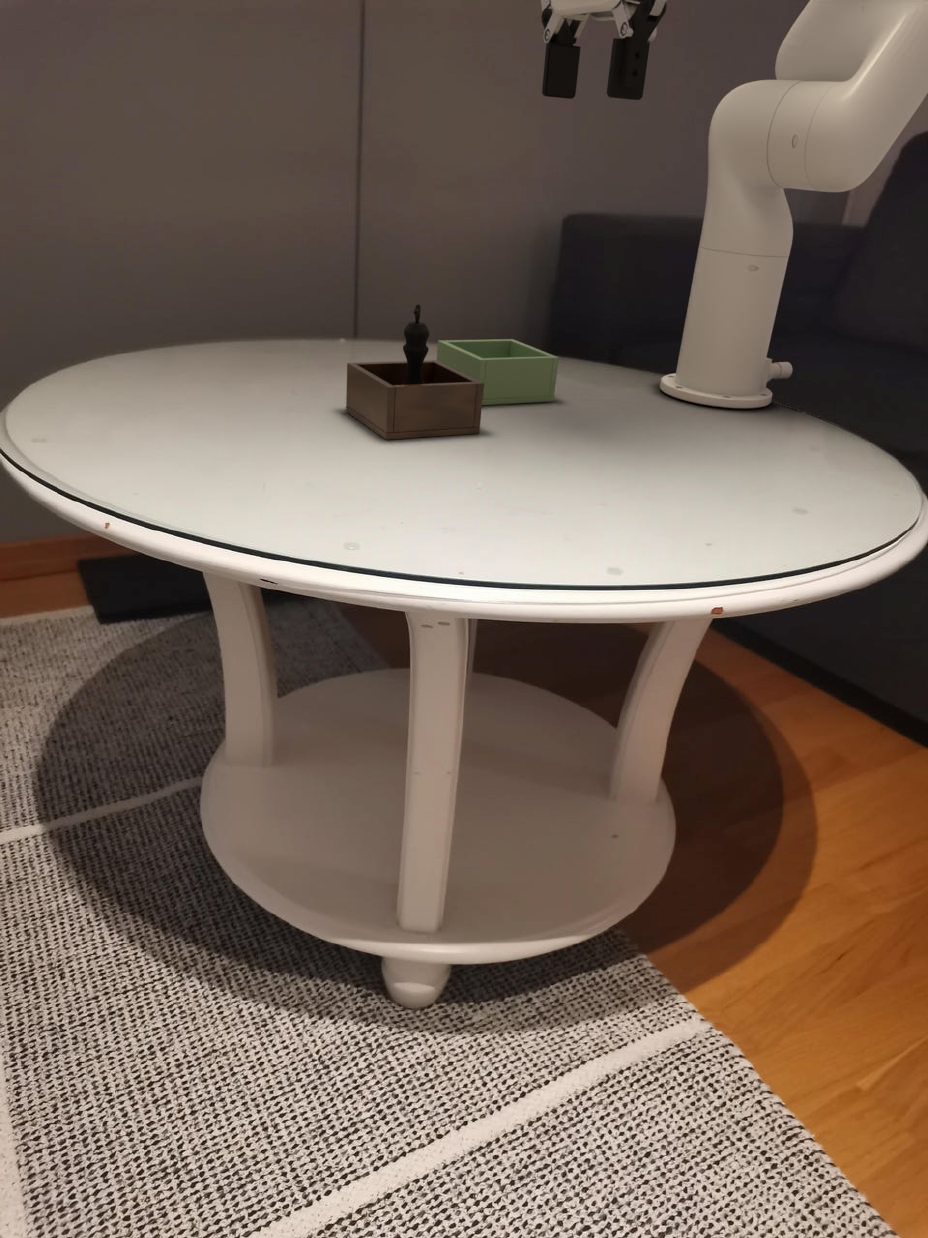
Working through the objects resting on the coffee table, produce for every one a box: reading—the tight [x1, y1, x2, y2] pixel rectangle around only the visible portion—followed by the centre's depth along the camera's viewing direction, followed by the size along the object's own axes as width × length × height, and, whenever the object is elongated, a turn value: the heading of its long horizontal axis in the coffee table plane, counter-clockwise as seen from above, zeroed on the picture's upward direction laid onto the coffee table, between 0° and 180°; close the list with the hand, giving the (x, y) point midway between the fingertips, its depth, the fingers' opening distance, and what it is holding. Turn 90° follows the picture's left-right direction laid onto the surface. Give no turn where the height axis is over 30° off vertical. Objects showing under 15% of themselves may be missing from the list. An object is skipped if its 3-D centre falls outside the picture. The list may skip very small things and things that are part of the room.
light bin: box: [436, 338, 560, 406], centre depth 100 cm, size 9×9×5 cm
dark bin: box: [345, 359, 484, 441], centre depth 87 cm, size 9×9×5 cm
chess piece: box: [402, 303, 430, 385], centre depth 85 cm, size 4×4×10 cm
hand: (589, 97), depth 79 cm, fingers open, 9 cm apart
